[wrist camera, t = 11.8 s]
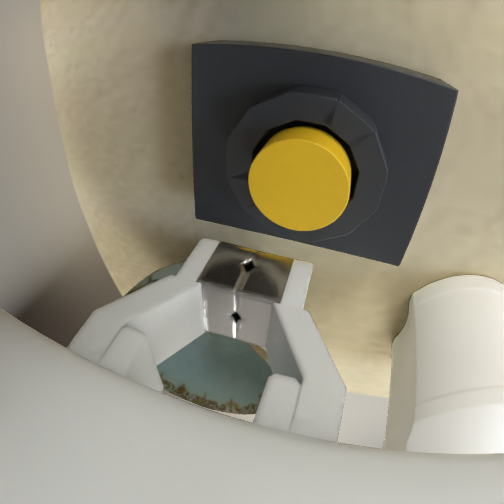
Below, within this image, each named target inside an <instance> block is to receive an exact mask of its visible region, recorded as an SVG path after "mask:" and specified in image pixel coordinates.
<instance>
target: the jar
mask: <svg viewBox="0 0 504 504" xmlns="http://www.w3.org/2000/svg"><path fill="white" fill-rule="evenodd" d="M391 358H392V365H391V382H390V396H389V407H388V417H387V427H386V436H385V440H384V443H383V449H389V450H398V451H409V452H423V453H443V454H491V453H504V285H503V284H501V283H500V282H498V281H496V280H494V279H492V278H488V277H485V276H479V275H460V276H453V277H448V278H445V279H441V280H438V281H435V282H433V283H431V284H428V285H426V286H424V287H422V288H421V289H419V290H417V291H416V292H414V293H413V294H412V297H411V299H410V302H409V314H408V319H407V321H406V324H405V326H404V328H403V329H402V331H401V332H400V333H399V334H398V336H396V337H395V339H394V341H393V343H392V346H391Z"/></svg>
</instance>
